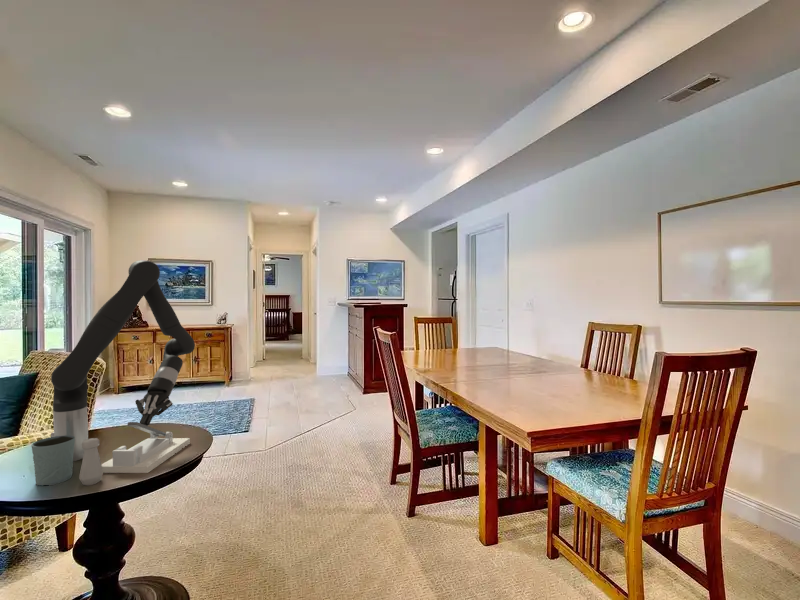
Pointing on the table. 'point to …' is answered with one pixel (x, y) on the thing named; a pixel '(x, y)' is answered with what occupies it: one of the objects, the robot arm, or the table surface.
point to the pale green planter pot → (53, 459)
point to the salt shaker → (90, 463)
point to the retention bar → (146, 428)
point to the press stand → (144, 454)
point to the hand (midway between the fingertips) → (143, 425)
